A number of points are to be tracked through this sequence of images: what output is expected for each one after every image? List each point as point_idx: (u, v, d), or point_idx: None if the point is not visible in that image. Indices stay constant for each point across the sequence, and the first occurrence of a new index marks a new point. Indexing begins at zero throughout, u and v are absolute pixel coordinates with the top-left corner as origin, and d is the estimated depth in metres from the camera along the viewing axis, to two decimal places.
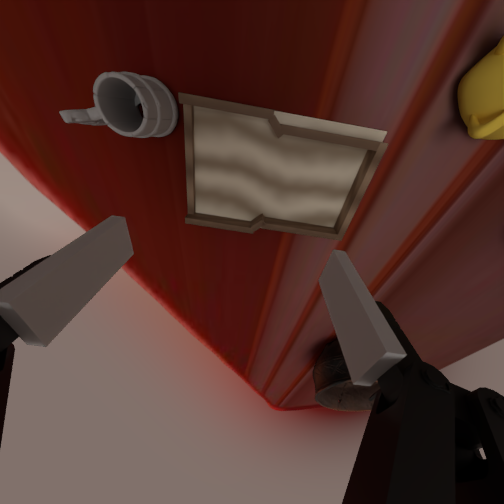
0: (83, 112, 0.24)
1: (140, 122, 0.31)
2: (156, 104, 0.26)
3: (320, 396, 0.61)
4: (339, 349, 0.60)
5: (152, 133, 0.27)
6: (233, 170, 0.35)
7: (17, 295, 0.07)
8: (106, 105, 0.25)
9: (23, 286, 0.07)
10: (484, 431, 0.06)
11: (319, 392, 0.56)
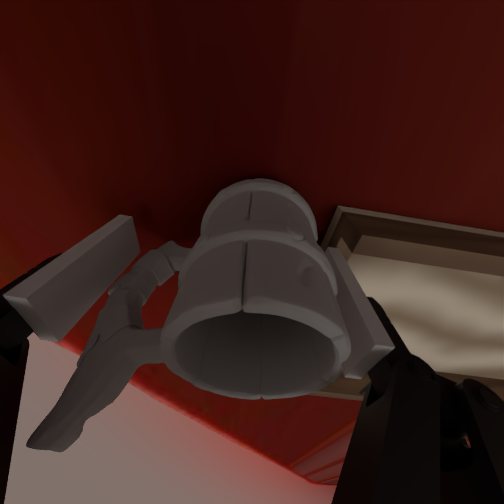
0: (118, 374, 0.07)
1: None
2: None
3: None
4: None
5: None
6: None
7: (33, 291, 0.07)
8: None
9: (39, 282, 0.07)
10: (469, 421, 0.06)
11: None
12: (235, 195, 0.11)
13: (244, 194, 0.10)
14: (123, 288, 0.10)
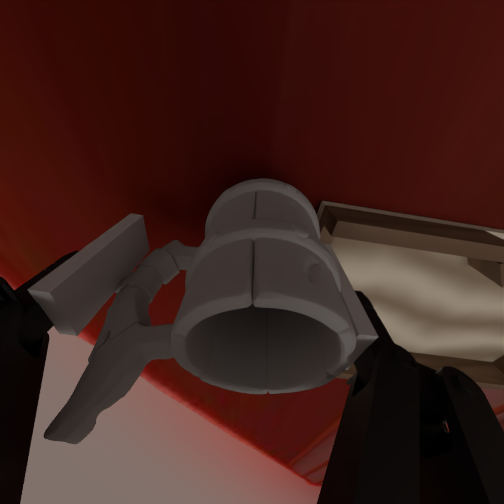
0: (129, 369, 0.07)
1: None
2: None
3: None
4: None
5: None
6: None
7: (56, 286, 0.07)
8: None
9: (60, 278, 0.07)
10: (447, 407, 0.06)
11: None
12: (239, 194, 0.11)
13: (249, 193, 0.11)
14: (130, 286, 0.10)
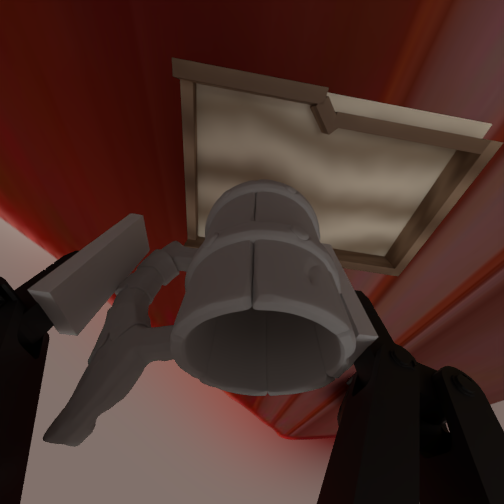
0: (128, 371, 0.07)
1: None
2: None
3: None
4: None
5: None
6: None
7: (56, 286, 0.07)
8: None
9: (60, 278, 0.07)
10: (448, 407, 0.06)
11: None
12: (239, 195, 0.11)
13: (248, 194, 0.11)
14: (130, 287, 0.10)
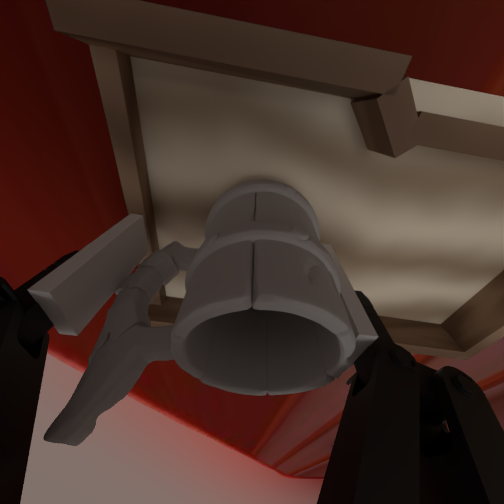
0: (129, 371, 0.07)
1: None
2: None
3: None
4: None
5: None
6: None
7: (56, 286, 0.07)
8: None
9: (60, 278, 0.07)
10: (448, 407, 0.06)
11: None
12: (239, 195, 0.11)
13: (248, 195, 0.11)
14: (130, 287, 0.10)
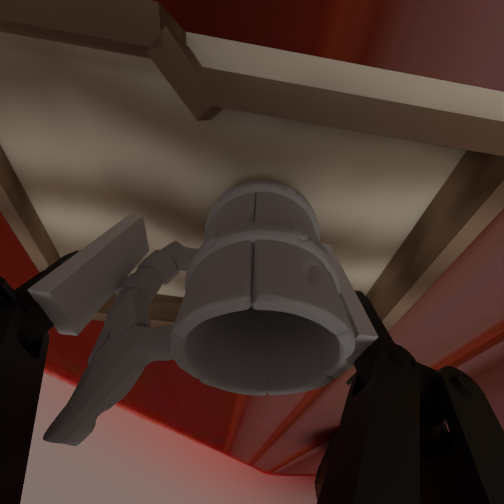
0: (128, 371, 0.07)
1: None
2: None
3: None
4: None
5: None
6: (121, 205, 0.15)
7: (56, 286, 0.07)
8: None
9: (60, 278, 0.07)
10: (448, 407, 0.06)
11: None
12: (239, 195, 0.11)
13: (248, 195, 0.11)
14: (130, 287, 0.10)
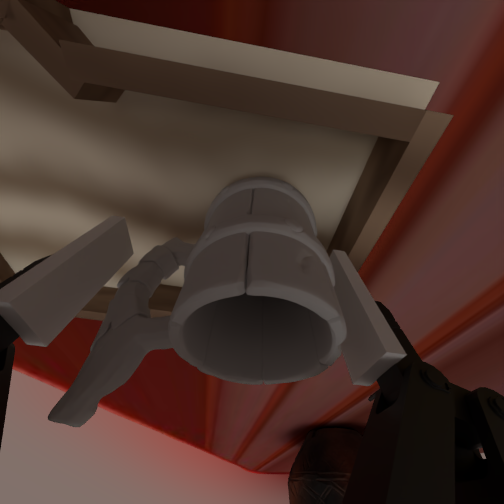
0: (129, 358, 0.07)
1: None
2: None
3: None
4: (326, 455, 0.39)
5: None
6: (45, 193, 0.14)
7: (17, 295, 0.07)
8: None
9: (23, 286, 0.07)
10: (484, 431, 0.06)
11: None
12: (237, 192, 0.11)
13: (246, 191, 0.11)
14: (131, 281, 0.11)
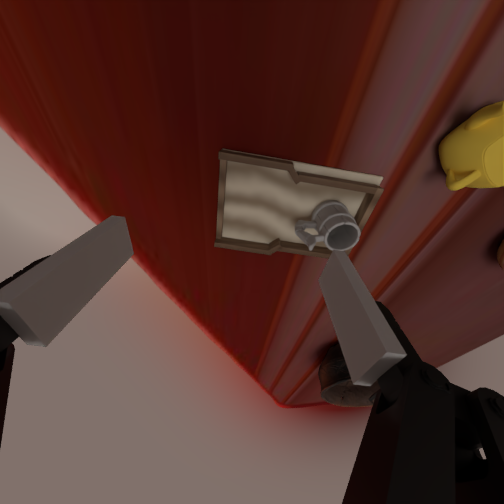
0: (315, 240, 0.36)
1: None
2: None
3: (325, 393, 0.69)
4: None
5: None
6: (256, 204, 0.43)
7: (17, 295, 0.07)
8: None
9: (23, 286, 0.07)
10: (484, 431, 0.06)
11: (325, 389, 0.63)
12: (327, 205, 0.40)
13: (331, 205, 0.39)
14: (300, 230, 0.39)
